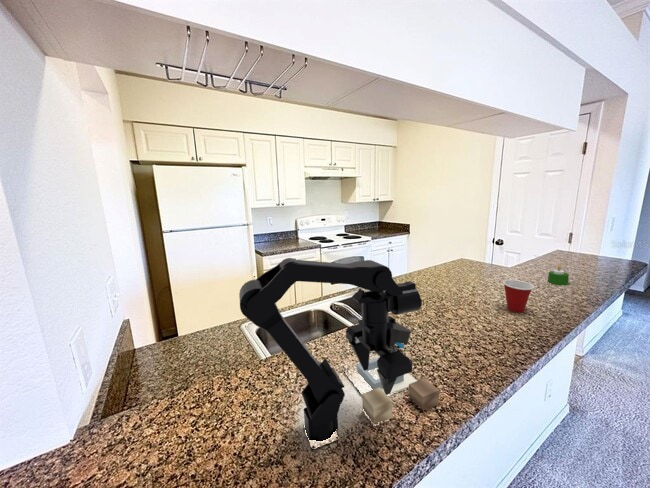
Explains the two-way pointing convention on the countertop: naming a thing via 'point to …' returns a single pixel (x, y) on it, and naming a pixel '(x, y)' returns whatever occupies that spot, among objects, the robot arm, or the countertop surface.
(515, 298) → the plastic cup
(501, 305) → the countertop surface
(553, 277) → the candle
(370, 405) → the maple cube
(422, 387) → the walnut block
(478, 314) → the countertop surface
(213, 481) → the countertop surface
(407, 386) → the board
